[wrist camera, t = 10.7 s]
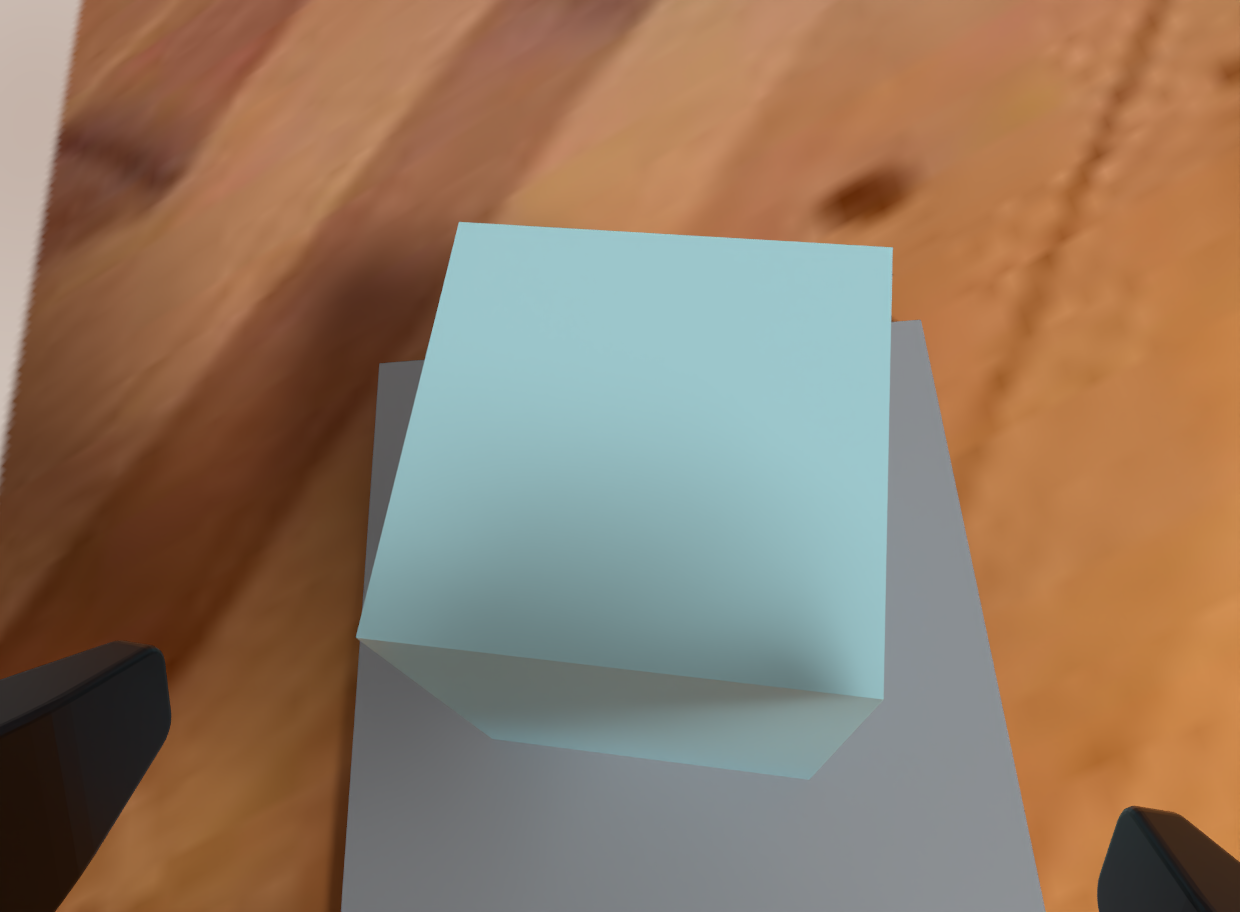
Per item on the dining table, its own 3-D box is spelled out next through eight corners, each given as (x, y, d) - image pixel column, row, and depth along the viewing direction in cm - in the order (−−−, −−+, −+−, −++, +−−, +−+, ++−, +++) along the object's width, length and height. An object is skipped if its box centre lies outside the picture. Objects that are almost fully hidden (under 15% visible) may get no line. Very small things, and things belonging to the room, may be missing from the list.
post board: (1037, 933, 19) (1122, 943, 15) (350, 966, 20) (264, 983, 16) (914, 336, 25) (953, 233, 21) (388, 378, 26) (332, 286, 22)
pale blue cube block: (809, 779, 20) (883, 699, 12) (492, 739, 21) (355, 638, 13) (823, 480, 23) (892, 247, 14) (543, 455, 23) (459, 222, 15)
